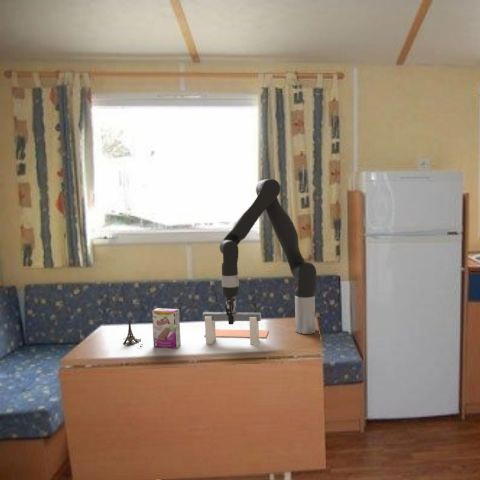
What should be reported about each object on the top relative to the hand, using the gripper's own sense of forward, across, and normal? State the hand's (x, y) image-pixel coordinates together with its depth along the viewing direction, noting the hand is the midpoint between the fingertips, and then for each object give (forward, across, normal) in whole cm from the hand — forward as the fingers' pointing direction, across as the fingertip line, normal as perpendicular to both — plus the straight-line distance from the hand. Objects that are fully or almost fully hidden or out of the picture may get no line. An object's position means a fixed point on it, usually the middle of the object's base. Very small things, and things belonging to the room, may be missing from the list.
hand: (231, 322), depth 182 cm
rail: (-1, 0, 0) cm, 1 cm away
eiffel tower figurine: (+9, -5, +46) cm, 47 cm away
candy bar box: (+9, -8, +28) cm, 30 cm away
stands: (+9, 0, 0) cm, 9 cm away
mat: (+9, +10, 0) cm, 14 cm away
